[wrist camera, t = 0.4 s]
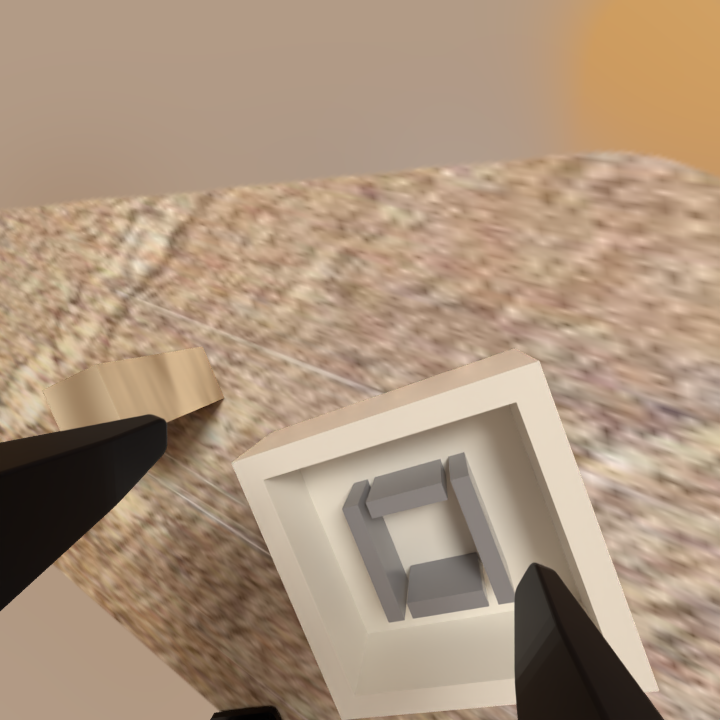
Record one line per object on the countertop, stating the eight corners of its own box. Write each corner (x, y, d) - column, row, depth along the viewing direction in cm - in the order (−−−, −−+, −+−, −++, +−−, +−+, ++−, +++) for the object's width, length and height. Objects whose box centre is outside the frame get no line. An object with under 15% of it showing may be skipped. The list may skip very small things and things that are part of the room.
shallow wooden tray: (359, 642, 26) (341, 720, 21) (271, 432, 25) (231, 462, 20) (608, 604, 21) (659, 690, 16) (514, 348, 20) (538, 360, 15)
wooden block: (181, 414, 26) (73, 459, 18) (160, 365, 26) (42, 390, 18) (224, 398, 25) (129, 438, 17) (202, 346, 25) (96, 364, 17)
